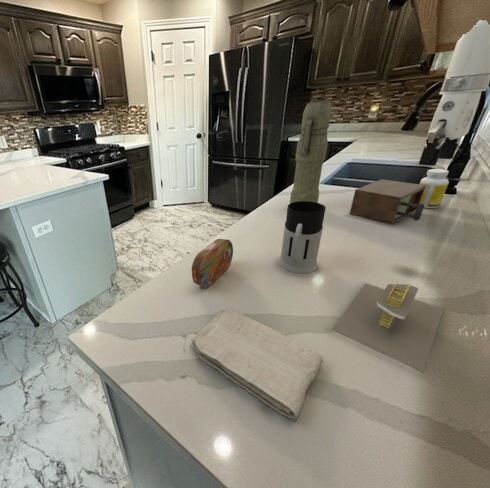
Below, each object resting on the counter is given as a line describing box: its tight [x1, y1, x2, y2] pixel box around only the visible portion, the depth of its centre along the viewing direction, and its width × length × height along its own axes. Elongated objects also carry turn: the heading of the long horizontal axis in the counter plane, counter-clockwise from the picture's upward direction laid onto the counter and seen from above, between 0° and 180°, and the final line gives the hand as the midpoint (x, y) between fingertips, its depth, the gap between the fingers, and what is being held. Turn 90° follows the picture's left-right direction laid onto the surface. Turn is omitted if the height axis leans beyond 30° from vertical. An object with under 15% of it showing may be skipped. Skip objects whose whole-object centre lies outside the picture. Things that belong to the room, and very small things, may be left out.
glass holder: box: [277, 201, 326, 274], centre depth 59 cm, size 9×14×15 cm, turn 147°
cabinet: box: [349, 179, 426, 226], centre depth 84 cm, size 12×16×8 cm
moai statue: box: [289, 99, 332, 204], centre depth 87 cm, size 9×12×35 cm
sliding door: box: [395, 195, 425, 221], centre depth 76 cm, size 6×7×6 cm
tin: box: [191, 238, 234, 289], centre depth 62 cm, size 15×3×8 cm, turn 139°
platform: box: [332, 280, 444, 373], centre depth 45 cm, size 12×18×7 cm, turn 131°
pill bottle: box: [419, 168, 450, 209], centre depth 84 cm, size 6×6×12 cm
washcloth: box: [190, 307, 324, 420], centre depth 42 cm, size 12×18×3 cm, turn 46°
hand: (435, 161), depth 68 cm, fingers open, 9 cm apart
